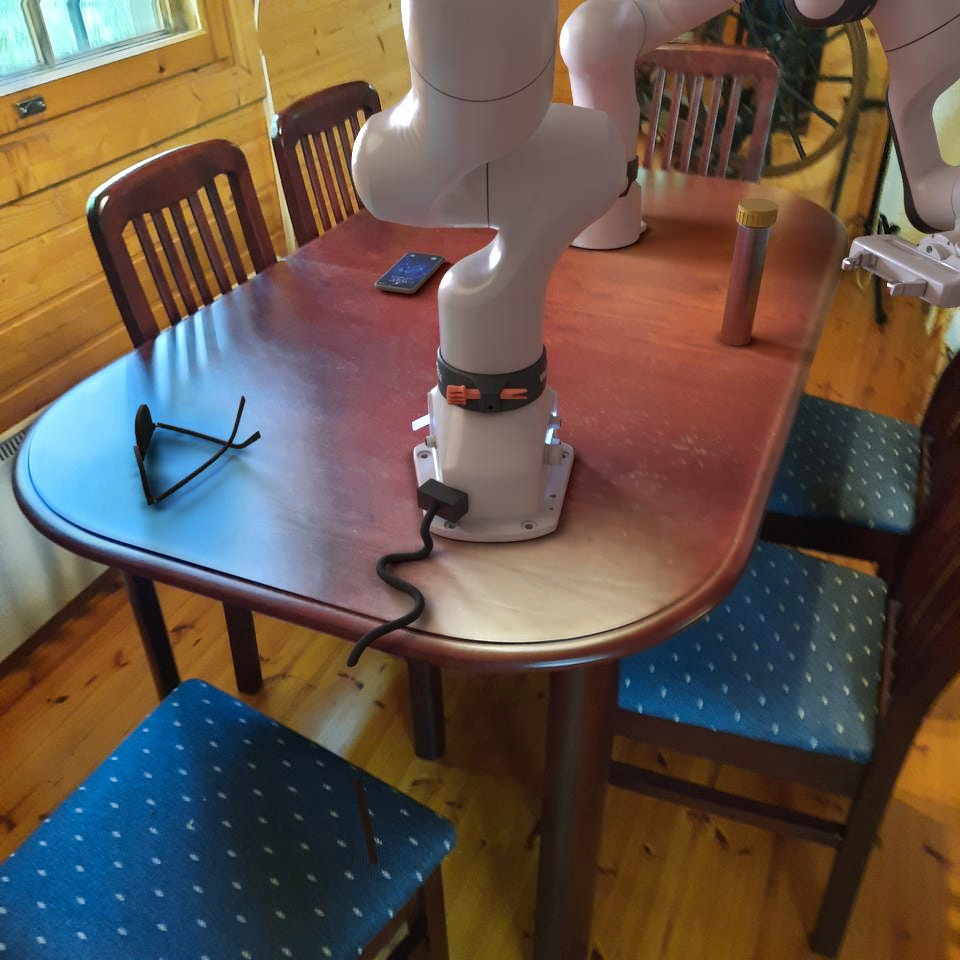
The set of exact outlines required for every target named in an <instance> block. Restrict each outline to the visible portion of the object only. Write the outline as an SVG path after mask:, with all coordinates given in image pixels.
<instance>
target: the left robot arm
mask: <svg viewBox="0 0 960 960" xmlns="http://www.w3.org/2000/svg"><path fill="white" fill-rule="evenodd" d="M400 5H401V6H400V7H401V19H402V27H403V33H404V40H405V45H406V51H407V56H408V57H407V58H408V62H409V69H410V77H411V79H410V81H411V88H410V90H408V92H407V93H406V94H405V95H404V96H403V97H402V98H401V99H400V100H399V101H397V102H395V103H394V104H393V105H391V106H389V107H388V108H385V109H383V110H382V111H379V112H377V113H374V114H372V115H370V116H369V118H368V119H366V121H365V122H364V124H363V125H362V127H361V129H360V130H359V132H358V134H357V137H356V138H355V141H354V144H353V149H352V154H351V176H352V180H353V184H354V187H355V190H356V193H357V195H358V197H359V199H360V201H361V202H362V204H363V205H364V207H365V208H366V210H367V211H368V212H369V213H370V214H371V215H372V216H373V217H374V218H375V219H377V220H379V221H383V222H388V223H392V224H397V225H403V226H409V227H413V228H419V229H484V228H485V229H486V228H487V229H488V228H489V229H494V230H496V231H497V233H496V235H495V237H494V238H493V239H492V240H491V241H490V242H489V243H488V244H487V245H486V246H484V247H482V248H481V249H479V250H477V251H474V252H473V253H471V254H468V255H466V256H465V257H463V258H462V259H461V258H460V260H458V261H457V262H455V264H454V265H452V266H451V267H450V268H449V269H448V270H447V271H446V273H445V274H444V275H443V277H442V278H441V281H440V283H439V286H438V290H437V307H438V324H439V326H438V327H439V340H440V341H439V342H440V345H439V346H438V348H437V354H436V356H437V358H436V363H435V364H436V376H437V384H436V385H435V387H434V386H433V388H432V389H431V390H430V391H428V392H427V406H428V407H427V409H428V414H427V415H425V416H422V417H420V418H418V419H416V420H414V421H412V430H413V431H417V430H418V429H420V428H422V427H425V426H426V425H428V424H429V435H426V436H425V438H424V442H422V443H419V444H417V445H416V446H415V447H414V448H413V454H412V455H413V457H412V458H413V464H414V470H415V475H416V476H415V477H416V480H417V488H416V500H417V508H419V509H420V510H422V516H423V518H422V520H421V523H420V529H419V533H420V538H421V540H422V542H423V547H422V548H421V549H419V550H416V551H412V552H396V553H395V552H394V553H388V554H385V555H383V556H381V557H380V558H379V559H378V560H377V563H376V565H375V566H376V567H375V571H376V574H377V576H378V577H379V579H381V581H383V582H384V583H386V584H388V585H389V586H392V587H393V588H396V589H397V590H400V591H401V592H404V593H405V594H407V595H409V596H410V597H411V598H412V599H413V600H414V607H413V608H412V609H411V611H409V612H408V613H406V614H404V615H403V616H400V617H398V618H396V619H393V620H390V621H388V622H385V623H384V624H381V625H379V626H377V627H374V628H372V629H371V630H370V631H368V632H367V633H365V634H364V635H363V636H362V637H361V638H360V639H359V640H358V641H357V642H356V643H355V645H354V646H353V647H352V649H351V651H350V653H349V655H348V658H347V660H346V667H348V668H354V667H356V665H357V664H358V662H359V660H360V659H361V656H362V655H363V653H364V651H365V650H366V649H367V648H368V647H369V646H370V645H371V644H372V643H374V642H375V641H376V640H378V639H380V638H381V637H383V636H385V635H387V634H390V633H392V632H395V631H397V630H400V629H403V628H405V627H408V626H409V625H411V624H412V623H414V622H416V621H417V620H418V619H419V618H420V617H421V615H422V614H423V612H424V609H425V605H426V602H425V601H426V600H425V597H424V596H423V593H422V591H420V590H419V588H417V587H416V586H414V585H413V584H411V583H409V582H407V581H405V580H403V579H401V578H399V577H397V576H394V575H393V574H392V573H390V572H388V571H387V570H386V568H387V565H389V564H391V563H392V564H393V563H408V562H416V561H420V560H423V559H425V558H426V557H427V556H429V554H431V552H432V551H433V549H434V540H433V538H432V536H431V533H432V534H434V535H437V536H440V537H443V538H448V539H452V540H457V541H466V542H477V543H478V542H480V543H500V542H501V543H502V542H503V543H506V542H518V541H527V540H531V539H536V538H539V537H543V536H546V535H548V534H550V533H552V532H554V531H556V530H557V527H558V525H559V520H560V518H561V517H560V516H561V512H562V508H563V504H564V500H565V497H566V492H567V488H568V483H569V480H570V476H571V472H572V469H573V468H572V467H573V464H574V459H575V450H574V447H573V446H571V445H570V444H568V443H566V442H563V441H561V439H560V438H558V430H560V429H561V428H562V416H559V392H557V391H556V390H555V389H554V388H553V387H552V386H551V385H550V384H549V383H548V382H547V379H548V367H549V361H548V356H547V355H548V354H547V353H548V351H547V347H546V345H545V344H544V332H545V331H544V330H545V329H544V328H545V316H546V307H547V298H548V292H549V287H550V282H551V279H552V276H553V274H554V272H555V269H556V267H557V265H558V264H559V262H560V261H561V259H562V257H563V256H564V254H565V252H566V251H567V249H568V248H569V247H570V246H571V245H570V244H571V243H572V242H573V241H574V240H575V239H576V238H577V237H578V236H579V235H580V234H581V233H582V232H583V231H584V230H585V229H586V228H588V227H589V226H590V225H591V224H593V223H594V222H596V221H597V220H599V219H600V218H602V217H603V216H604V215H605V214H606V213H607V212H608V211H609V210H610V209H611V208H612V207H613V205H614V204H615V202H616V201H617V199H618V197H619V195H620V193H621V191H622V189H623V186H624V183H625V179H626V173H627V151H626V146H625V142H624V139H623V137H622V134H621V132H620V130H619V128H618V127H617V125H616V123H615V122H614V121H613V119H612V118H611V117H610V116H609V115H608V114H607V113H606V112H603V111H598V110H594V109H589V108H585V107H580V106H574V105H573V104H568V103H562V102H552V101H553V96H554V89H555V77H556V76H555V75H556V61H557V60H556V59H557V47H558V35H559V33H558V32H559V15H560V14H559V10H560V9H559V0H400ZM352 782H353V786H354V793H355V798H356V802H357V808H358V813H359V817H360V823H361V826H362V832H363V837H364V841H365V847H366V852H367V856H368V857H367V858H368V862H370V863H371V864H373V865H374V864H376V863H377V862H378V863H379V859H378V851H377V846H376V840H375V835H374V831H373V826H372V822H371V817H370V812H369V811H370V810H369V806H368V801H367V796H366V795H367V794H366V790H365V784H364V778H363V777H360V778H357V779H354V780H353V781H352ZM370 863H369V864H370Z"/></svg>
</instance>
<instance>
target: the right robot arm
mask: <svg viewBox="0 0 960 960" xmlns="http://www.w3.org/2000/svg"><path fill="white" fill-rule="evenodd" d="M744 1H745V0H586V1H583V2H582V3H581V4H580V5H578V6H577V7H576V8H575V9H574V10H573V12H572V13H570V15H569V17H568V18H567V19H566V21H565V22H564V24H563V26H562V28H561V31H560V35H559V51H560V55H561V59H562V60H563V62H564V64H565V65H566V67H567V70H568V76H569V83H570V88H571V95H572V105H574V106H580V107H585V108H589V109H594V110H598V111H603V112H606V113H607V114H608V115H609V116H610V117H611V118H612V119H613V121H614V122H615V123H616V125H617V127H618V128H619V130H620V132H621V134H622V137H623V139H624V142H625V146H626V151H627V173H626V179H625V183H624V186H623V189H622V191H621V193H620V195H619V197H618V199H617V201H616V202H615V204H614V205H613V207H612V208H611V209H610V210H609V211H608V212H607V213H606V214H605V215H604V216H603V217H602V218H600V219H599V220H597V221H596V222H594V223H593V224H591V225H590V226H589V227H588V228H586V229H585V230H584V231H583V232H582V233H581V234H580V235H579V236H578V237H577V238H576V239H575V240H574V241H573V242H572V243H571V244H570V246H573V247H578V248H582V249H591V250H610V249H618V248H624V247H626V246H630V245H632V244H634V243H635V242H637V241H638V240H639V238H640V235H641V234H642V233H643V232H645V231H646V230H647V223H646V222H645V221H642V201H643V200H642V198H643V197H642V194H643V190H642V185H641V184H640V183H639V182H638V181H637V179H638V176H639V174H638V173H639V169H640V163H639V160H640V159H639V155H638V145H639V143H638V142H639V131H640V118H641V106H640V103H639V102H638V98H637V91H636V80H635V65H636V60H639V59H640V58H642V57H643V56H645V55H647V54H649V53H651V52H653V51H655V50H657V49H658V48H660V47H662V46H664V45H665V44H668V43H669V42H671V41H673V40H676V39H677V38H679V37H681V36H683V35H684V34H686V33H688V32H690V31H692V30H694V29H695V28H697V27H699V26H701V25H702V24H704V23H707V22H708V21H710V20H713V19H714V18H715V17H717V16H720V15H721V14H723V13H725V12H726V11H729V10H730V9H732V8H733V7H736V6H737V5H739V4H741V3H744ZM784 5H785V8H786V11H787V13H788V15H789V16H790V17H791V18H792V20H793V21H795V22H796V23H797V25H800V26H802V27H804V28H807V29H810V30H823V29H830V28H835V27H838V26H842V25H846V24H850V23H851V24H852V23H855V22H859V21H860V22H861V21H863V20H865V19H866V18H867V19H868V20H869V22H870V23H871V25H872V26H873V28H874V30H875V32H876V34H877V37H878V40H879V43H880V45H881V47H882V51H883V53H884V55H885V58H886V63H887V67H888V73H889V75H888V76H889V83H888V85H887V87H886V90H885V94H884V95H885V100H884V102H885V109H886V117H887V121H888V125H889V130H890V134H891V135H890V136H891V138H892V142H893V147H894V151H895V155H896V159H897V164H898V167H899V172H900V176H901V181H902V189H903V190H902V191H903V193H902V194H903V209H904V214H905V216H906V219H907V220H908V222H909V223H910V225H911V226H912V227H913V228H914V229H915V230H917V232H920V233H921V234H924V235H925V236H924V237H923V238H921V239H920V240H919V241H918V242H917V244H916V243H914V242H911V241H909V240H908V239H906V238H904V237H902V236H901V237H900V236H899V235H895V234H891V233H890V234H885V233H883V234H872V235H863V236H858V237H855V238H854V239H853V240H852V242H851V246H850V250H849V254H848V256H847V257H845V258H844V259H843V260H842V264H841V269H842V270H844V271H845V272H848V273H853V272H858V268H862V269H864V270H866V271H868V272H870V273H872V274H874V275H876V276H877V277H879V278H881V279H883V280H885V281H887V284H886V288H885V291H884V292H885V293H886V294H888V295H889V296H891V297H893V298H894V297H895V298H896V297H900V296H902V297H911V298H919V299H921V300H923V301H924V302H926V303H928V304H930V305H932V306H933V307H936V308H941V309H954V308H959V307H960V164H959V165H951V164H949V163H947V162H946V161H945V160H944V159H943V158H942V155H941V150H940V146H939V139H938V136H937V132H936V127H935V123H934V122H935V121H934V115H933V111H934V106H935V103H936V101H937V100H938V98H939V97H940V96H942V94H943V93H944V92H946V91H947V90H948V89H949V88H951V87H953V85H954V84H955V83H957V81H959V80H960V0H784Z"/></svg>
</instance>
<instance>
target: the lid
mask: <svg viewBox="0 0 960 960" xmlns="http://www.w3.org/2000/svg"><path fill="white" fill-rule="evenodd" d="M735 214H736V215H735V221H736V222H737V223H738V224H739V223H740V224H741V225H744V226H748V227H755V228H763V227H769V226H771V227H772V226H775V224H777V223H776V222H777V218H778V214H779V205H778V203H777V202H775V201H772V200H771V199H766V198H745V199H742V200H740V201H739V202H738V205H737V209H736V212H735Z"/></svg>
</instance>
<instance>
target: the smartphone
mask: <svg viewBox="0 0 960 960" xmlns="http://www.w3.org/2000/svg"><path fill="white" fill-rule="evenodd" d="M445 261H446V258H445V257H444V256H443V255H440V254H432V253H425V252H424V253H423V252H417V251H416V252H415V251H409V252H406V253H405V254H403V256H402V257H401V258H400V259H399V260H398V261H397V262H396V263H394V265H392V266H391V267H390V268H389V269H388V270H387V271H386V272H385V273H384V274H383V275H382V276H381V277H380V278H379V279H377V280H376V281H375V282H374V286H373V287H374V288H375V289H376V290H380V291H385V292H386V291H387V292H394V293H399V294H407V295H413V294H415V293H416V292H417V291H418V290H419V289H420V288H421V287H422V286H423V285H424V284H426V281H428V279H429V278H430V277H432V276H433V274H434V273H435V272H436V271H437V270H438V269H439V268H440V267H441V266H442V265H443V263H445Z"/></svg>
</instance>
